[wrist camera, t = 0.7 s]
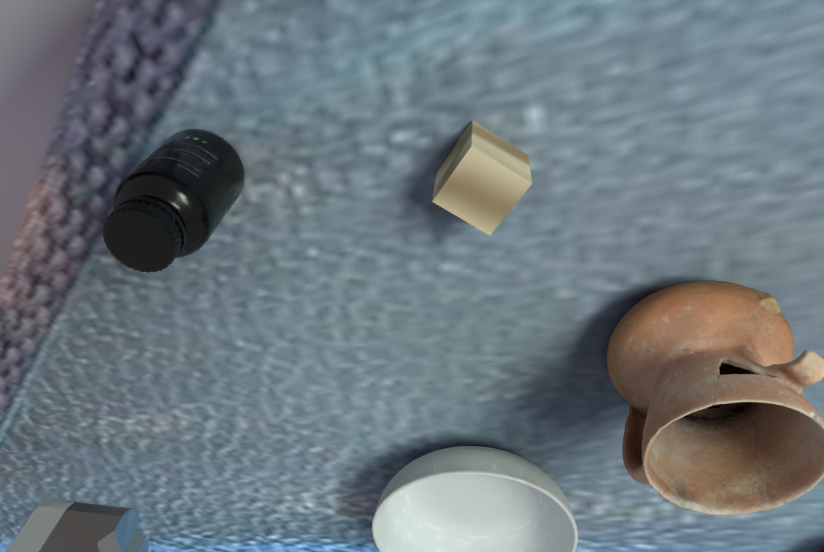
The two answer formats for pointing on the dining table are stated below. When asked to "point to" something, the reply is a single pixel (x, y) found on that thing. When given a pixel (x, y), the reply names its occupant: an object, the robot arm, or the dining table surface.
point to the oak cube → (482, 178)
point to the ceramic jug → (716, 399)
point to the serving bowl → (473, 505)
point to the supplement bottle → (173, 200)
